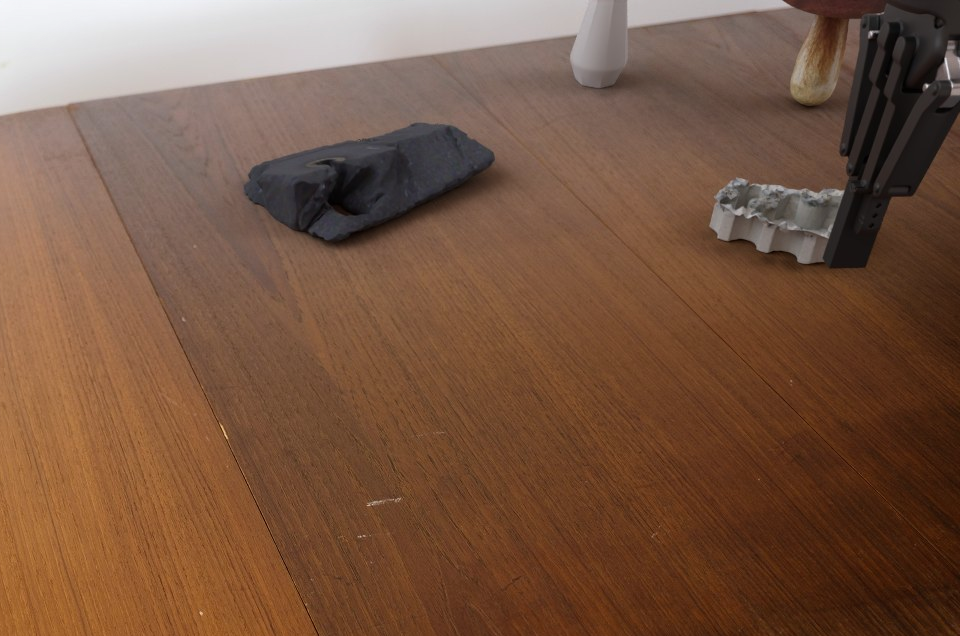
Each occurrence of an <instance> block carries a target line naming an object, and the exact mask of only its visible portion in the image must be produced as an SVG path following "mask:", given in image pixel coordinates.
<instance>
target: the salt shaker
mask: <svg viewBox="0 0 960 636" xmlns="http://www.w3.org/2000/svg"><path fill="white" fill-rule="evenodd" d="M585 8H586V9H585V11H584V15H583V17H582V19H581V23H580V25H579V29H578V32H577V35H576V38H575V41H574V43H573V46H572V49H571V52H570V55H569V60H570V65H571V68H572V72H573V75H574V79H575V80H576V81H577V82H578V83H579V84H580V85H581V86H583V87H590V88H595V89H603V88H607V87H611V86H614V85H615V83H616V82H617V80H618V79H619V77H620V75H621V73H622V72H623V70H624V69H625V67H626V66H627V64H628V60H629V43H628V42H629V41H628V39H629V37H628V36H629V35H628V34H629V33H628V22H629V21H628V0H588V2H587V5H586V7H585Z"/></svg>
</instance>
